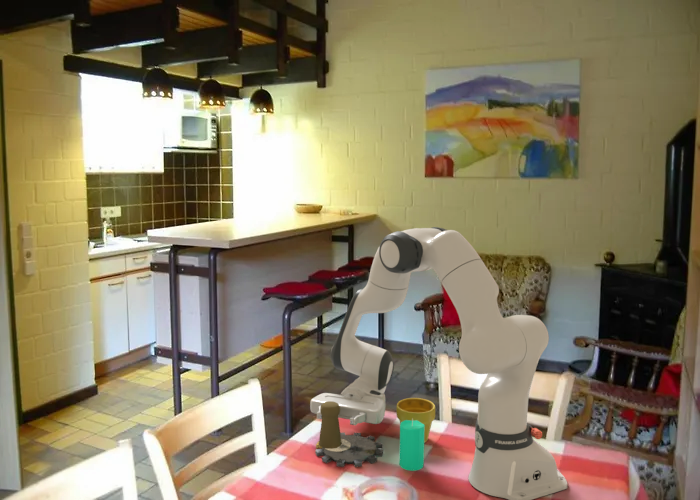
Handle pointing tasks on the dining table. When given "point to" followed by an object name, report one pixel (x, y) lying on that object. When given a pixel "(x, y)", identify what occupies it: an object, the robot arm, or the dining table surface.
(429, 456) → the dining table surface
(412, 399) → the plant pot
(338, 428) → the cork
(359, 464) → the sprocket plate
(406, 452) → the candle
